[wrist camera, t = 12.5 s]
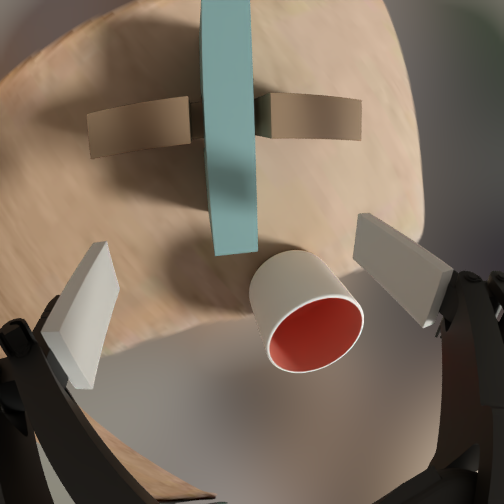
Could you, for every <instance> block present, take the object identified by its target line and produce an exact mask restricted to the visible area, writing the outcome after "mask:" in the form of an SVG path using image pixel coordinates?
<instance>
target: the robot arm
mask: <svg viewBox="0 0 504 504" xmlns="http://www.w3.org/2000/svg"><path fill="white" fill-rule="evenodd" d="M353 259H354V260H355V261H356V262H357V263H358V264H359V265H360V266H361V267H362V268H363V269H364V270H365V271H367V272H368V273H369V274H370V275H371V276H372V277H373V278H374V279H375V280H376V281H377V282H378V283H379V284H380V285H381V286H382V287H383V288H384V289H385V290H386V291H387V292H388V293H389V294H390V295H391V296H392V297H393V298H394V299H395V300H396V301H397V302H398V303H399V304H400V305H401V306H402V307H403V308H404V309H405V310H406V311H407V312H408V313H409V314H410V315H411V316H412V317H413V318H414V319H415V320H416V321H417V322H418V323H419V324H420V325H421V327H423V328H424V327H427V326H429V325H432V324H434V323H435V320H436V318H437V315H438V313H439V312H440V313H441V314H442V315H443V318H442V320H441V323H440V325H439V328H438V330H437V332H436V335H435V337H437V336H438V334H439V333H440V332H441V336H440V338H442V401H441V415H440V426H439V435H438V442H437V449H436V453H435V455H434V457H433V459H432V460H431V462H430V464H429V466H428V468H427V469H426V470H425V471H423V472H422V473H420V474H418V475H417V476H415V477H413V478H412V479H410V480H408V481H406V482H405V483H403V484H401V485H400V486H398V487H397V488H396V489H394V490H393V491H391V492H390V493H388V494H387V495H385V496H384V497H382V498H381V499H379V500H377V501H376V502H374V503H372V504H504V313H503V315H502V317H501V319H500V321H499V322H498V321H497V319H496V318H497V316H498V314H499V312H500V310H501V308H503V310H504V273H503V272H501V271H492V272H491V273H490V275H489V278H488V281H483V280H482V279H481V278H480V277H479V276H478V275H476V274H475V273H473V272H469V271H461V272H459V273H457V272H456V271H455V270H454V269H453V268H451V267H450V266H449V265H447V264H446V263H444V262H443V261H442V260H440V259H439V258H437V257H436V256H435V255H433V254H432V253H430V252H429V251H427V250H426V249H424V248H423V247H422V246H420V245H419V244H417V243H416V242H414V241H413V240H411V239H410V238H408V237H407V236H405V235H404V234H402V233H401V232H399V231H397V230H396V229H394V228H393V227H391V226H390V225H388V224H386V223H385V222H383V221H382V220H380V219H378V218H377V217H375V216H373V215H372V214H370V213H362V214H358V220H357V229H356V237H355V245H354V252H353ZM119 290H120V288H119V284H118V281H117V278H116V274H115V271H114V267H113V263H112V259H111V256H110V252H109V248H108V244H107V241H103V242H97V243H93V244H92V246H91V247H90V249H89V250H88V252H87V253H86V255H85V256H84V258H83V259H82V261H81V262H80V264H79V265H78V267H77V268H76V270H75V272H74V273H73V275H72V276H71V278H70V280H69V281H68V283H67V285H66V286H65V288H64V290H63V291H62V293H61V295H56V296H55V297H54V298H53V299H52V300H51V301H50V302H49V303H48V305H47V306H46V308H45V310H44V312H43V313H42V315H41V319H39V321H38V323H37V324H36V326H35V328H34V330H33V332H32V331H31V330H30V328H29V326H28V324H27V322H26V321H25V320H24V319H21V318H18V319H13V320H11V321H9V322H7V323H6V324H5V325H3V326H2V328H1V329H0V346H1V347H2V349H3V351H4V352H5V354H6V355H7V357H6V358H2V359H0V504H54V502H53V499H52V497H51V494H50V491H49V488H48V485H47V482H46V478H45V476H44V472H43V468H42V465H41V461H40V457H39V453H38V448H37V444H36V439H35V434H36V436H37V438H38V440H39V442H40V444H41V446H42V448H43V450H44V452H45V454H46V456H47V458H48V460H49V462H50V463H51V465H52V467H53V469H54V470H55V472H56V474H57V476H58V477H59V479H60V481H61V482H62V484H63V486H64V487H65V489H66V490H67V492H68V493H69V495H70V496H71V498H72V499H73V501H74V502H75V504H160V503H159V502H158V501H156V500H155V499H154V498H153V497H152V496H151V495H150V494H149V493H148V492H147V491H146V490H145V489H144V488H143V487H142V486H141V485H140V484H139V483H138V482H137V481H136V479H135V478H134V477H133V476H132V475H131V474H130V473H129V472H128V471H127V470H126V468H125V467H124V466H123V465H122V464H121V463H120V462H119V460H118V459H117V458H116V457H115V456H114V454H113V453H112V452H111V451H110V449H109V448H108V447H107V446H106V444H105V443H104V442H103V440H102V439H101V438H100V437H99V435H98V434H97V432H96V431H95V430H94V428H93V427H92V426H91V424H90V423H89V421H88V420H87V418H86V417H85V415H84V414H83V412H82V411H81V409H80V408H79V406H78V405H77V403H76V402H75V400H74V398H73V397H72V395H71V393H70V392H69V390H68V389H67V388H66V385H67V381H68V379H69V380H70V382H71V383H72V385H73V386H74V387H75V389H93V385H94V381H95V376H96V372H97V367H98V363H99V359H100V355H101V351H102V347H103V343H104V340H105V336H106V332H107V329H108V325H109V322H110V319H111V315H112V312H113V309H114V305H115V302H116V299H117V296H118V293H119ZM34 431H35V434H34ZM477 470H478V473H477V472H476V471H477Z"/></svg>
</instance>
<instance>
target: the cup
mask: <svg viewBox="0 0 504 504" xmlns="http://www.w3.org/2000/svg"><path fill="white" fill-rule="evenodd" d="M249 299H250V304H251V307H252V310H253V313H254V316H255V319H256V323H257V326H258V329H259V332H260V335H261V338H262V341H263V344H264V348H265V351H266V353H267V356H268V359H269V360H270V362H271V363H272V364H273V365H274V366H276V367H277V368H279V369H281V370H283V371H287V372H292V373H304V372H311V371H315V370H318V369H321V368H324V367H326V366H328V365H330V364H332V363H334V362H335V361H337V360H338V359H340V358H341V357H342V356H343V355H345V354H346V353H347V352H348V351H349V350H350V349H351V348H352V347H353V345H354V344H355V343H356V341H357V340H358V338H359V336H360V334H361V332H362V328H363V324H364V315H363V311H362V308H361V306H360V305H359V303H358V302H357V301H356V300H355V298H354V297H353V296H352V295H351V294H350V292H349V291H348V290H347V289H346V287H345V286H344V285H343V284H342V283H341V281H340V280H339V279H338V278H337V277H336V275H335V274H334V273H333V272H332V271H331V269H330V268H329V267H328V266H327V265H326V263H325V262H324V261H323V260H322V259H321V258H319V257H318V256H317V255H315V254H313V253H310V252H307V251H303V250H291V251H285V252H282V253H279V254H277V255H274V256H273V257H271V258H269V259H268V260H267V261H265V262H264V263H263V264H262V265H261V266H260V267H259V268H258V270H257V271H256V273H255V274H254V276H253V278H252V280H251V283H250V287H249Z"/></svg>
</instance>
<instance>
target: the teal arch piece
mask: <svg viewBox="0 0 504 504" xmlns="http://www.w3.org/2000/svg"><path fill="white" fill-rule="evenodd" d="M199 53H200V86H201V98H202V106H203V126H204V143H205V148H204V160H205V174H206V187H207V200H208V211H209V218H210V225H211V232H212V239H213V245H214V252H215V256H221V255H230V254H239V253H248V252H257V251H258V228H257V192H256V157H255V125H254V95H253V67H252V40H251V15H250V0H201V13H200V31H199Z"/></svg>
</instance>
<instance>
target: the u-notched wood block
mask: <svg viewBox="0 0 504 504" xmlns="http://www.w3.org/2000/svg"><path fill="white" fill-rule="evenodd" d="M361 118H362V105H361V100H357V99H350V98H342V97H333V96H323V95H311V94H295V93H269V94H266V95H263V96H261V97H258V98H256V99H254V125H255V135H257V136H262V137H267V138H271V139H278V138H305V139H337V140H355V141H361ZM87 127H88V138H89V148H90V156H91V159H95V158H100V157H105V156H110V155H115V154H121V153H127V152H132V151H138V150H145V149H152V148H159V147H166V146H174V145H183V144H191V141H192V139H200V138H204V126H203V106H202V102H196V103H190V101H189V98H188V96H184V97H175V98H167V99H160V100H153V101H147V102H141V103H135V104H130V105H124V106H119V107H115V108H110V109H105V110H101V111H97V112H93V113H89V114H87Z"/></svg>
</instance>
